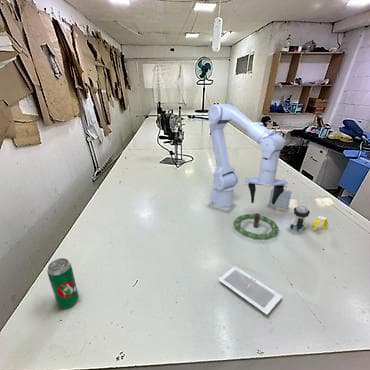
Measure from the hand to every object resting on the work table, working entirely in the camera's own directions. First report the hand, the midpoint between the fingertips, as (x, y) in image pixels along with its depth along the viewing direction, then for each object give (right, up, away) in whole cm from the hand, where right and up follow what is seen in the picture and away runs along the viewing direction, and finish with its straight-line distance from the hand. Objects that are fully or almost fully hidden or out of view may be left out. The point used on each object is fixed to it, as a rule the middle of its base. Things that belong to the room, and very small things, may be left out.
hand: (262, 202), depth 90 cm
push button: (+14, -11, 0) cm, 17 cm away
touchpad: (-12, -22, -26) cm, 37 cm away
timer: (+21, -9, -1) cm, 23 cm away
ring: (-3, -9, 0) cm, 10 cm away
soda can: (-59, -24, -30) cm, 70 cm away
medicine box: (+13, -3, +17) cm, 21 cm away
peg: (-3, -10, +1) cm, 10 cm away
